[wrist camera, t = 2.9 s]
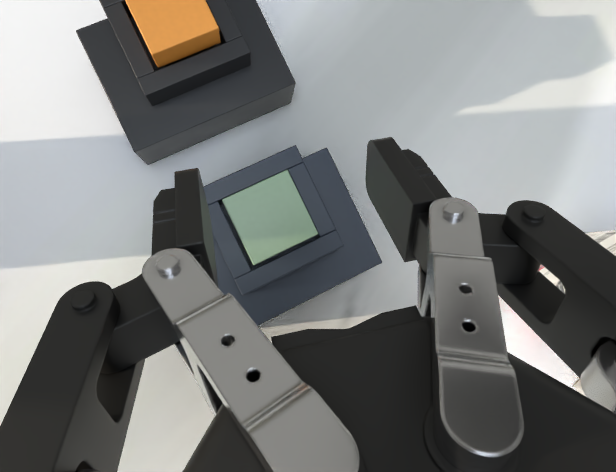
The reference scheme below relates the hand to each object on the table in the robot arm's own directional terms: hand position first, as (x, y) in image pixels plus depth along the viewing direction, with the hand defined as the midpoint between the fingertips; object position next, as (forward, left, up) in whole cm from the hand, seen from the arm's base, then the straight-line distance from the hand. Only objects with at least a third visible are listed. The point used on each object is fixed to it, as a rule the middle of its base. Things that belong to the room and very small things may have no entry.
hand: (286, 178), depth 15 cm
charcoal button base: (0, +12, -20) cm, 24 cm away
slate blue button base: (0, -2, -20) cm, 20 cm away
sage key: (0, 0, -15) cm, 15 cm away
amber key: (0, +14, -15) cm, 20 cm away
